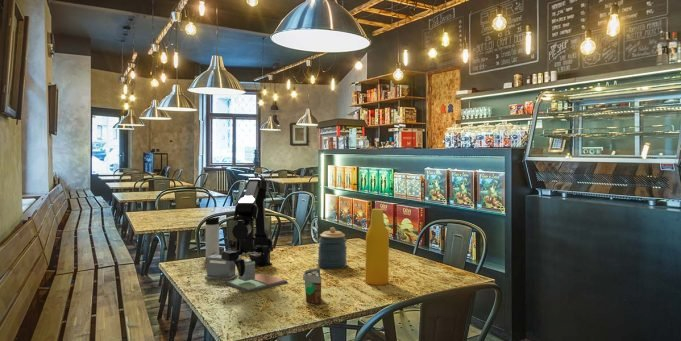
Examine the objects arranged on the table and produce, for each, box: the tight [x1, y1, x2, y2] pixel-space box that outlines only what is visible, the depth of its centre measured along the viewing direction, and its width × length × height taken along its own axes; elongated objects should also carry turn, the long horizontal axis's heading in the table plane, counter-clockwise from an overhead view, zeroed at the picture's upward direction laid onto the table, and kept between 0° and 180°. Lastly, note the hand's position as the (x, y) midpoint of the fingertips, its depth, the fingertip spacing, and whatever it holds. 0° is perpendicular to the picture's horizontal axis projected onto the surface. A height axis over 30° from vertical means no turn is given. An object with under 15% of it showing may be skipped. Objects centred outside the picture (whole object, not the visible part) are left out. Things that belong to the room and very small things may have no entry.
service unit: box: [204, 254, 238, 281], centre depth 190 cm, size 7×11×8 cm, turn 76°
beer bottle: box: [364, 208, 390, 286], centre depth 184 cm, size 9×9×29 cm
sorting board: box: [224, 272, 288, 293], centre depth 182 cm, size 18×16×1 cm
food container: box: [302, 267, 322, 306], centre depth 161 cm, size 12×6×10 cm, turn 5°
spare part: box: [237, 258, 256, 281], centre depth 178 cm, size 5×5×7 cm
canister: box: [317, 226, 348, 270], centre depth 210 cm, size 13×13×18 cm
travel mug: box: [205, 216, 220, 260], centre depth 223 cm, size 6×7×20 cm
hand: (246, 274), depth 178 cm, fingers closed on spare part, 4 cm apart
